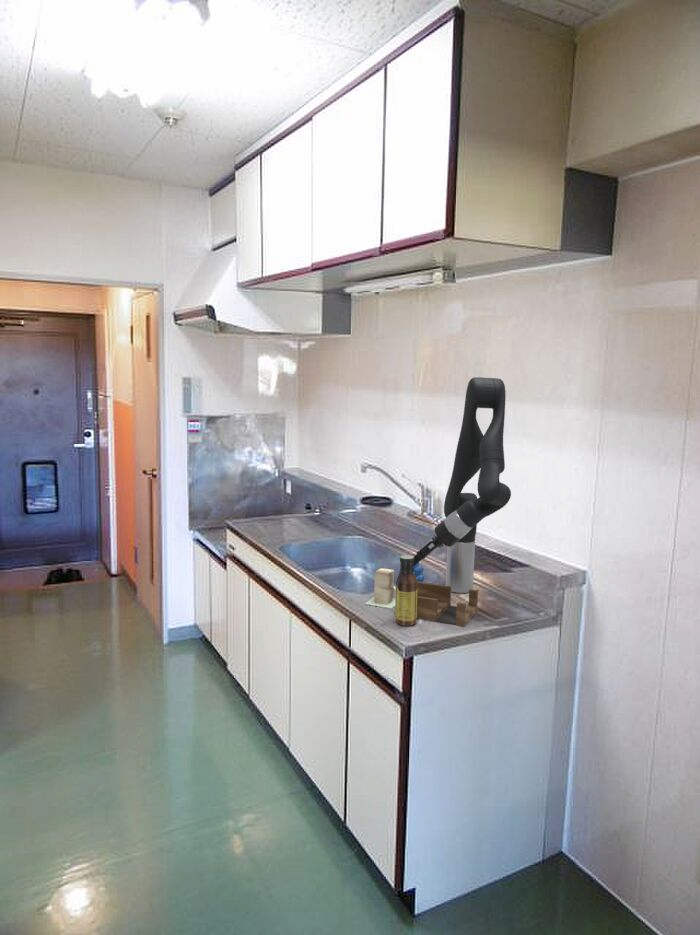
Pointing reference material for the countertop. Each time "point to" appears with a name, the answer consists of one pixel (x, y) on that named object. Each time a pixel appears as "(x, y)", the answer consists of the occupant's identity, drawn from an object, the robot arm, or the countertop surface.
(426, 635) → the countertop surface
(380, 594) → the block
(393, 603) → the mat
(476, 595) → the wooden holder
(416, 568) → the grapes
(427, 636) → the countertop surface
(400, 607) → the sauce bottle
